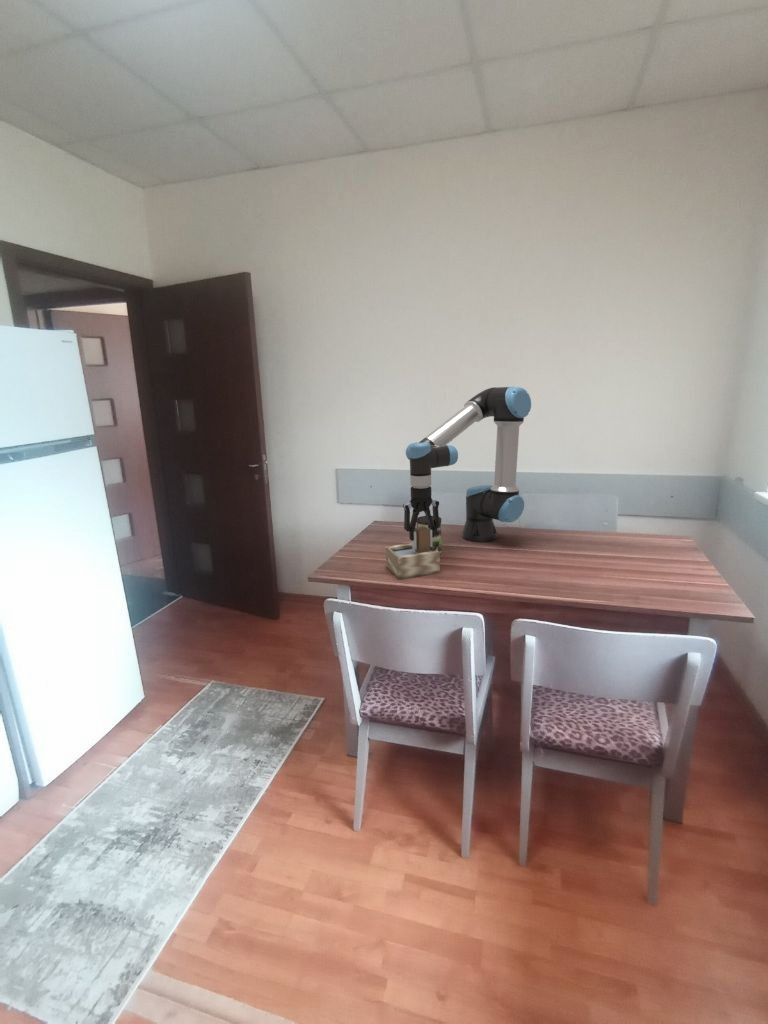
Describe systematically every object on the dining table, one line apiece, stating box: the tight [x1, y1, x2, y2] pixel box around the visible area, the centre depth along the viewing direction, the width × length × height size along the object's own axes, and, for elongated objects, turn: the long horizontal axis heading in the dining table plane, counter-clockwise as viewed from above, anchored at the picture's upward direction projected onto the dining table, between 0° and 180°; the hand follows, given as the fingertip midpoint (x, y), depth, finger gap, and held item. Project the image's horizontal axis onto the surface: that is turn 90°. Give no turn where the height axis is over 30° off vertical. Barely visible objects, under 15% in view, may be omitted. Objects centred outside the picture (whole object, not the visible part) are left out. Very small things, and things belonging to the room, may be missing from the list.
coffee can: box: [416, 515, 443, 554], centre depth 198 cm, size 10×10×14 cm
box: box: [385, 542, 441, 580], centre depth 179 cm, size 16×14×8 cm
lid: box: [394, 526, 431, 556], centre depth 178 cm, size 14×12×10 cm
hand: (422, 546), depth 180 cm, fingers open, 6 cm apart
